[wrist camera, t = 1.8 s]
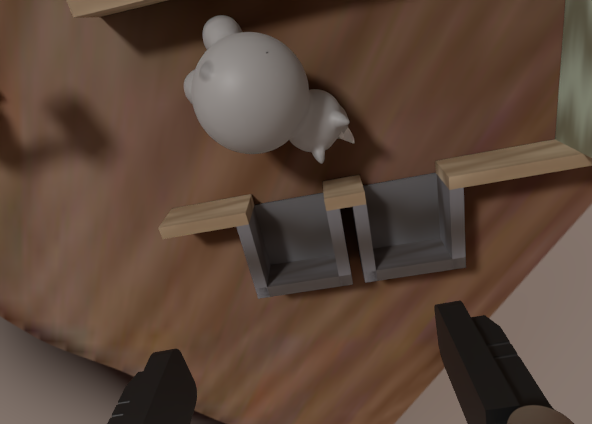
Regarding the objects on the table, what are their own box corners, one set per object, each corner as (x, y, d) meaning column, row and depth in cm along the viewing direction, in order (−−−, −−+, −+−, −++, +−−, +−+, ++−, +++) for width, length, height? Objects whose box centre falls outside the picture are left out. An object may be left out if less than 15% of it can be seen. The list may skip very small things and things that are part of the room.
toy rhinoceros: (304, 150, 35) (342, 208, 28) (167, 92, 28) (176, 151, 22) (351, 74, 32) (405, 121, 25) (210, -9, 25) (234, 25, 19)
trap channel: (93, 1, 28) (52, -2, 23) (592, -123, 24) (657, -155, 19) (200, 284, 38) (185, 320, 33) (561, 227, 34) (599, 260, 30)
